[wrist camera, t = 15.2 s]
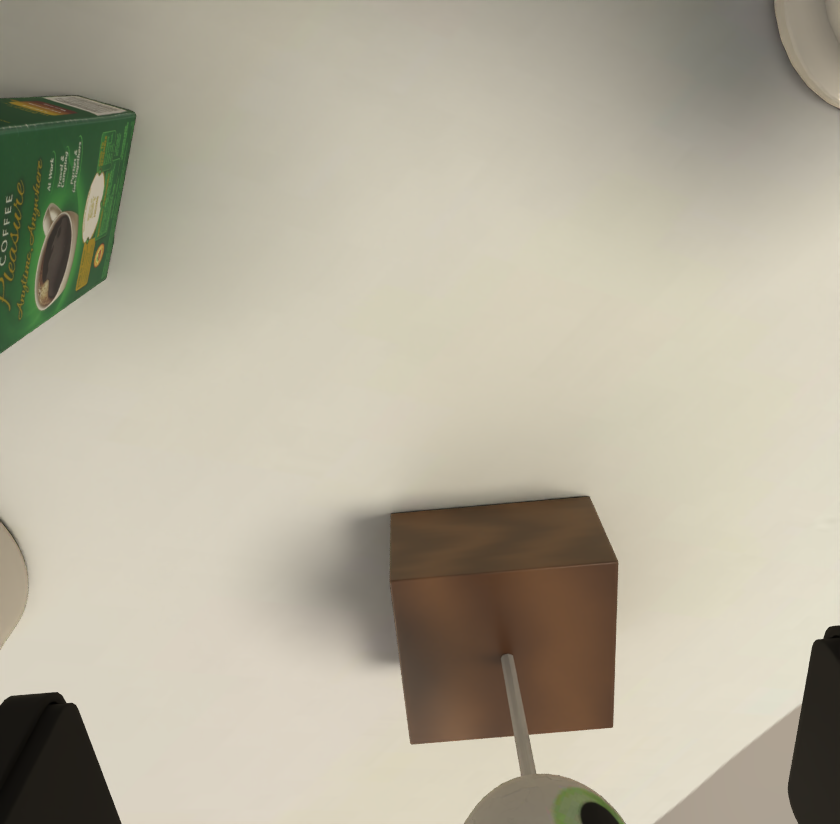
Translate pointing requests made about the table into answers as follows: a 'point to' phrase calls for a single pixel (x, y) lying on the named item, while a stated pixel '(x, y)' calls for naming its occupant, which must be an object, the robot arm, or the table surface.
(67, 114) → the coffee box
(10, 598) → the cylinder vase
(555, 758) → the table surface
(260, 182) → the table surface
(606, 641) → the walnut block
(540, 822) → the lollipop
